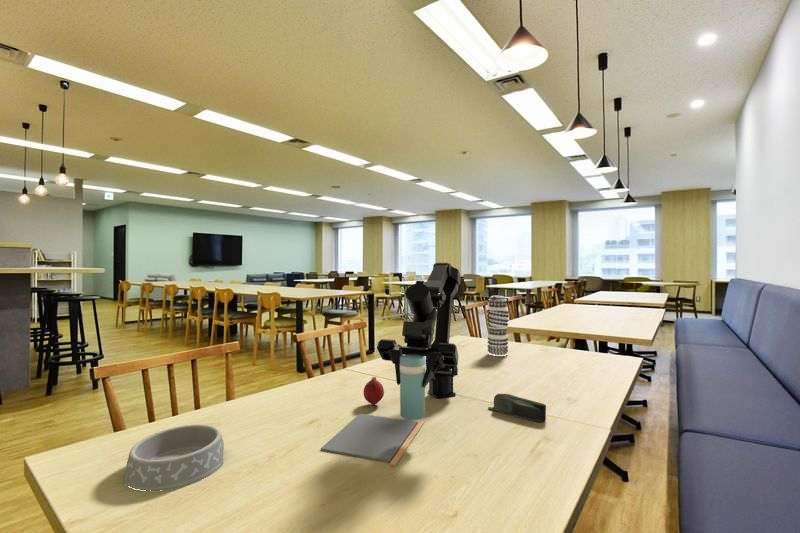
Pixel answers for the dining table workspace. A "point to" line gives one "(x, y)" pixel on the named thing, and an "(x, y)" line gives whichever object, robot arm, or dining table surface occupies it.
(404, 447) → the orange strip
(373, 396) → the onion
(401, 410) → the teal cylinder
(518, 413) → the black stapler
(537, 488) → the dining table surface
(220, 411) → the dining table surface
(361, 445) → the mat
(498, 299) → the grey patterned cylinder
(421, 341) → the robot arm
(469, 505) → the dining table surface
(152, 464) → the dog bowl
